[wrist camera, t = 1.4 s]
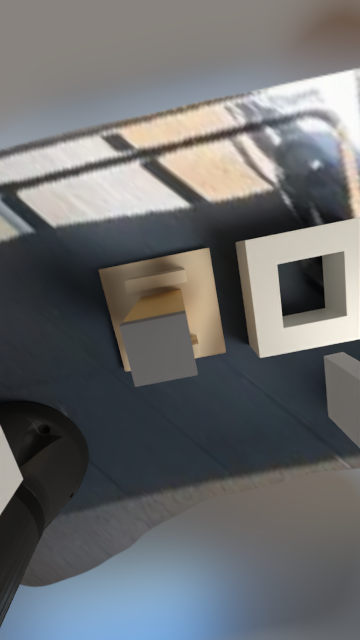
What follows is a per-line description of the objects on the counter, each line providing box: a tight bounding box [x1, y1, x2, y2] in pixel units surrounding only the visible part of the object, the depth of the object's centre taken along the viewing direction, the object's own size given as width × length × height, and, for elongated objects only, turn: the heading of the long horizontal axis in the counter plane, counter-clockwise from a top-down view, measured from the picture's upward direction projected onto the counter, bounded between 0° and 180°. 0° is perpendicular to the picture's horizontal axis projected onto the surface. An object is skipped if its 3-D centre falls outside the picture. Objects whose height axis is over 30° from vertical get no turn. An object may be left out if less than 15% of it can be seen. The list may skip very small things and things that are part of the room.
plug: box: [119, 289, 198, 387], centre depth 24 cm, size 4×4×12 cm
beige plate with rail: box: [98, 248, 226, 372], centre depth 29 cm, size 12×12×4 cm
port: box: [235, 218, 360, 358], centre depth 28 cm, size 12×12×4 cm
